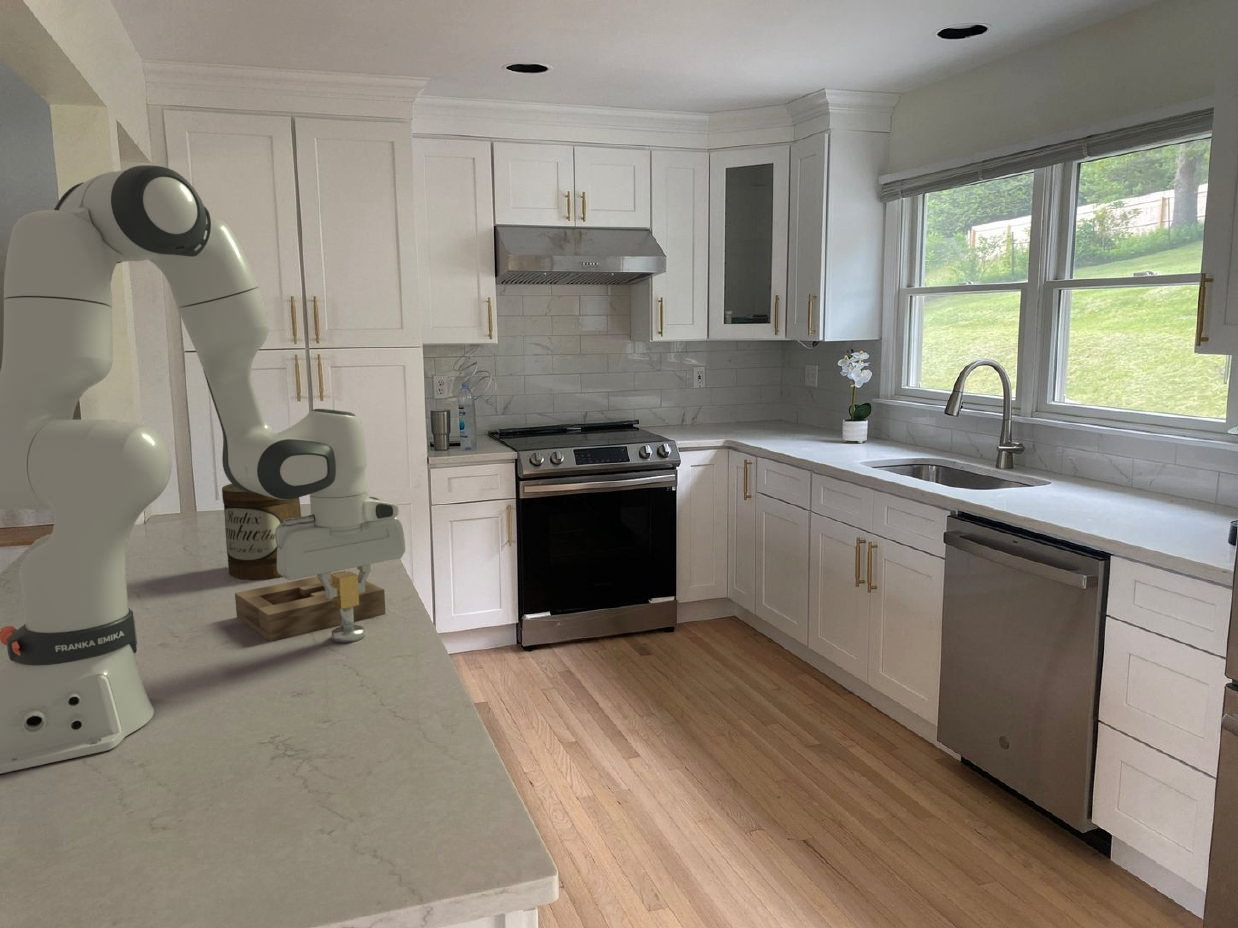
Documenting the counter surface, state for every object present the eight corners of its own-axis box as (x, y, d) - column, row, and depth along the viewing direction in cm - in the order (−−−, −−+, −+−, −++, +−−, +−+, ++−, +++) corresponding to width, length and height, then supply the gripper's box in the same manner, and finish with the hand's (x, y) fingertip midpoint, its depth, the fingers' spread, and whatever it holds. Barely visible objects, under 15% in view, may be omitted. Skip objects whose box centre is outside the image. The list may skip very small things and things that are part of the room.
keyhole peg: (340, 645, 139) (335, 581, 137) (327, 637, 143) (322, 574, 141) (369, 637, 142) (366, 574, 140) (356, 629, 146) (352, 568, 144)
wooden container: (212, 578, 178) (203, 470, 174) (259, 559, 192) (251, 459, 188) (277, 582, 174) (269, 472, 171) (319, 562, 188) (312, 461, 185)
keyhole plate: (270, 641, 141) (268, 614, 140) (236, 617, 153) (234, 592, 152) (385, 613, 154) (384, 589, 153) (346, 593, 166) (345, 570, 165)
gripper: (282, 524, 130) (288, 614, 132) (407, 504, 143) (411, 586, 145) (266, 517, 135) (273, 604, 137) (389, 499, 148) (394, 578, 150)
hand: (345, 595), depth 141 cm, fingers closed on keyhole peg, 3 cm apart
